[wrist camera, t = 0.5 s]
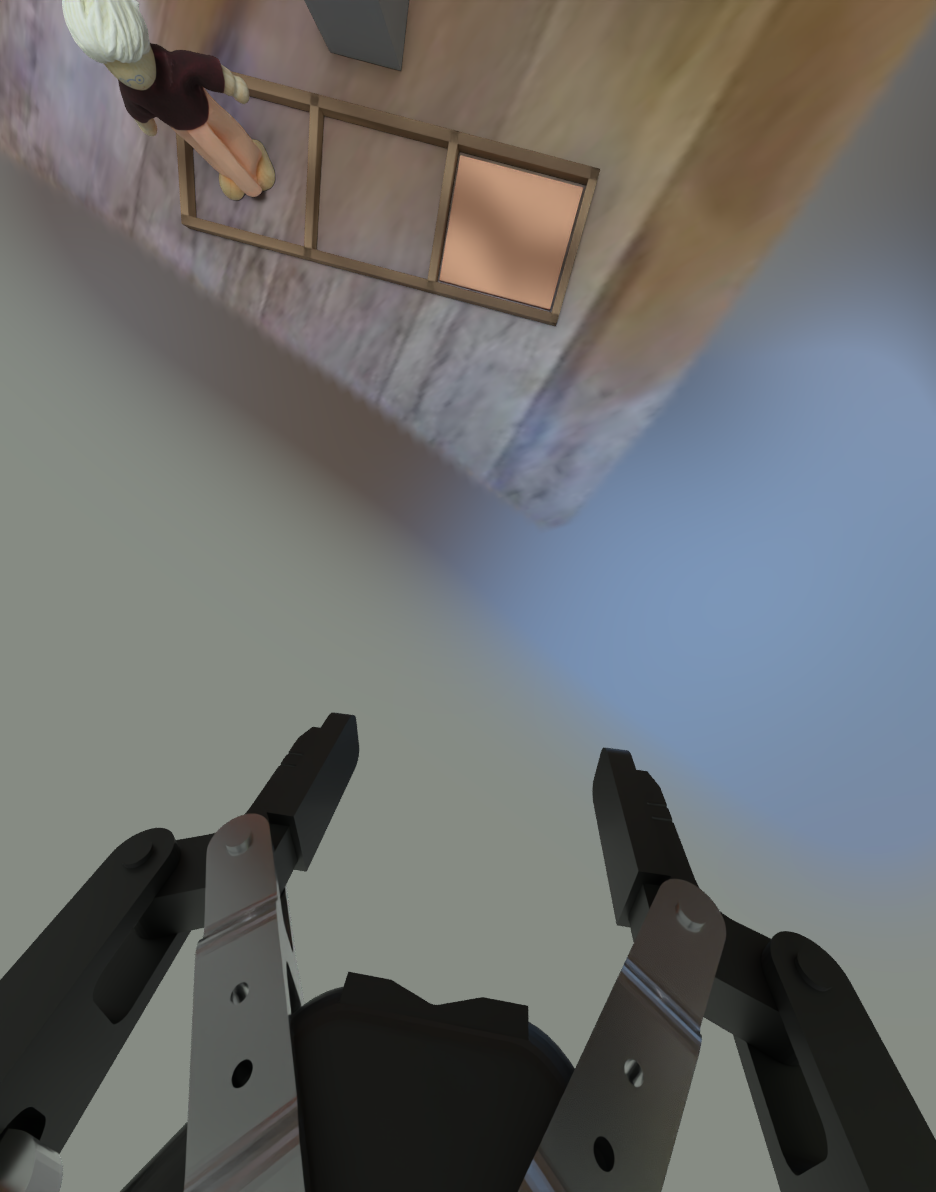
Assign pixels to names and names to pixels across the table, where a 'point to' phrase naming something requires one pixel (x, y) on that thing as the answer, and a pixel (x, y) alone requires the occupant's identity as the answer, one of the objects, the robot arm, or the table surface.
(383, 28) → the die
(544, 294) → the board
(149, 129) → the grandmother figurine
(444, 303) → the table surface
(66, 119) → the table surface
